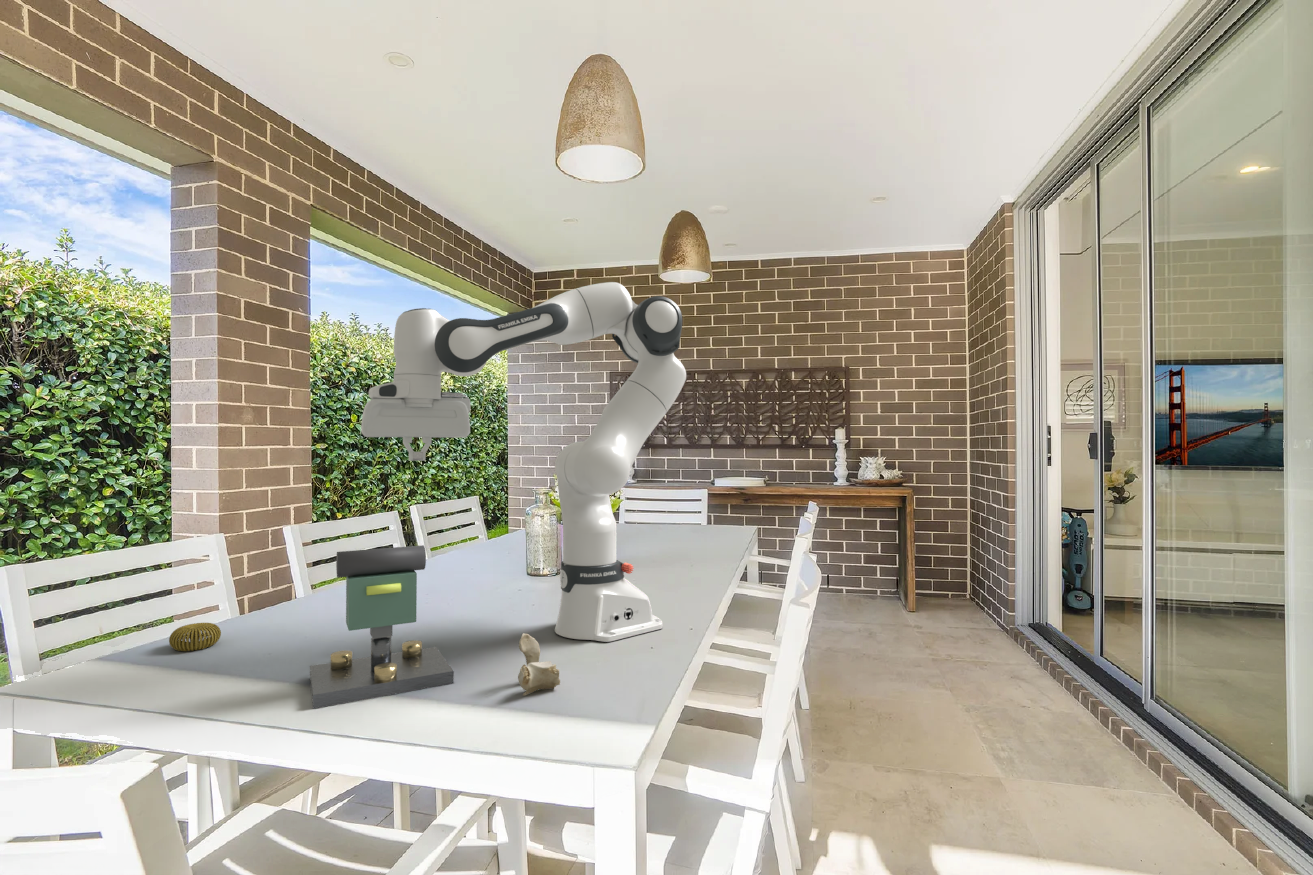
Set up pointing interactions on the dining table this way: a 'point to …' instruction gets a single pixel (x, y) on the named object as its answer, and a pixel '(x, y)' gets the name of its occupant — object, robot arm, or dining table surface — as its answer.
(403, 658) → the plate
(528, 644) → the bone
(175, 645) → the sculpture
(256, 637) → the dining table surface
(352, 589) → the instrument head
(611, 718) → the dining table surface
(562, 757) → the dining table surface
